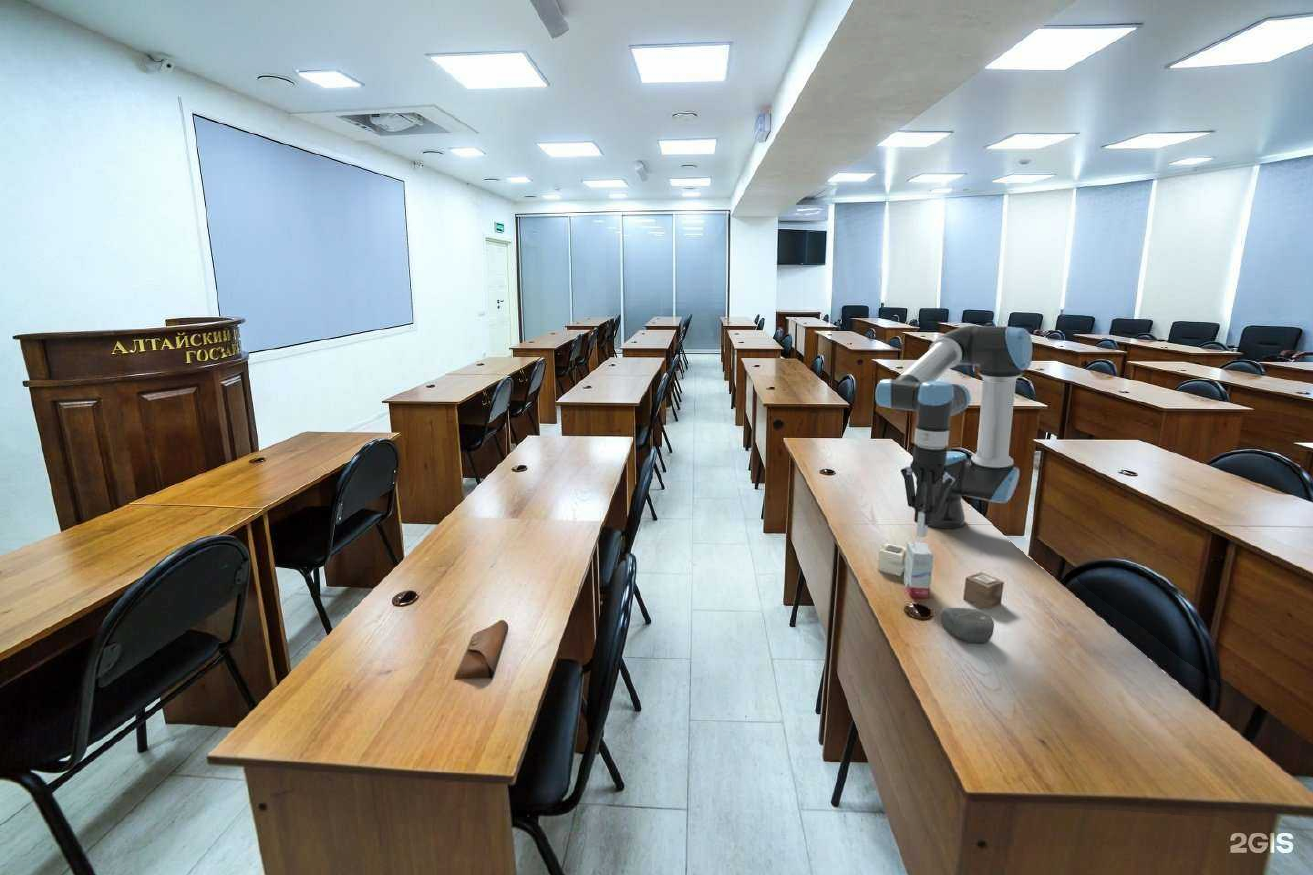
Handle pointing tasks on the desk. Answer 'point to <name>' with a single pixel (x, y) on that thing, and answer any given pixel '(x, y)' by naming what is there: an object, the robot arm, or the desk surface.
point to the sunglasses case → (483, 653)
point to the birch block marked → (892, 559)
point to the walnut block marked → (983, 590)
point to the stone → (968, 624)
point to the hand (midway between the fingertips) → (921, 535)
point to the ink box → (918, 569)
